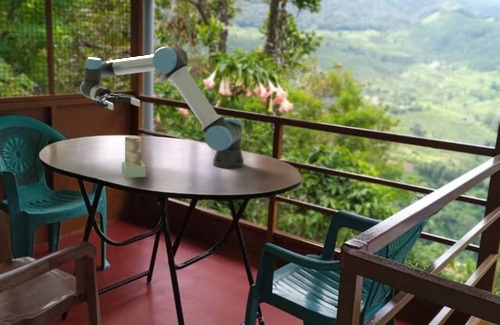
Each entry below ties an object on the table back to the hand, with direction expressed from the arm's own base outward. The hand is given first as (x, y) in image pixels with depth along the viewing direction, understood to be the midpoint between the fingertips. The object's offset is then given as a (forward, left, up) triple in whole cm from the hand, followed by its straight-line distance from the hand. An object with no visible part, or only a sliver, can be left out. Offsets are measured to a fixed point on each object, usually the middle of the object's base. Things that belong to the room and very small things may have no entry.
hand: (126, 105), depth 228 cm
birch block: (-4, +9, -25) cm, 27 cm away
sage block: (-5, +9, -30) cm, 31 cm away
